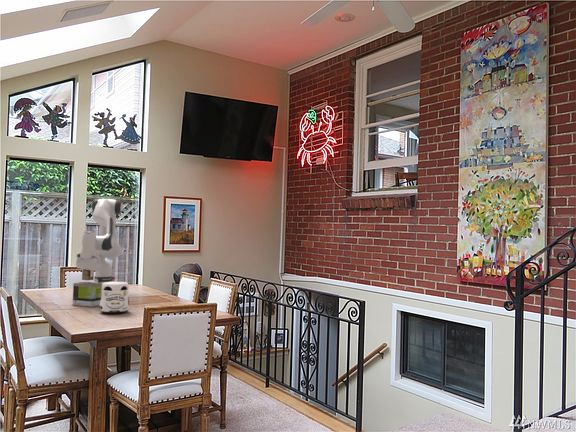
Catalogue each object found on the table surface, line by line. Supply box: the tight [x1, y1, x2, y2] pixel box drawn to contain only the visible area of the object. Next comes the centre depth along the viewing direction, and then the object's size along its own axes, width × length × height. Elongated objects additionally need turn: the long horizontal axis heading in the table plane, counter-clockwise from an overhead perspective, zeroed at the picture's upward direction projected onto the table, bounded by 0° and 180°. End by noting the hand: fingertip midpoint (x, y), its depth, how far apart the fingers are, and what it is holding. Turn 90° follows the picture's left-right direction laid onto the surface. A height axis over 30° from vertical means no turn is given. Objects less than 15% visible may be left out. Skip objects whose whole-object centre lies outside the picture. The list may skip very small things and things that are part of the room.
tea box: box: [72, 281, 102, 308], centre depth 324 cm, size 15×10×15 cm, turn 71°
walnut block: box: [81, 269, 95, 281], centre depth 324 cm, size 5×5×6 cm
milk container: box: [99, 281, 130, 315], centre depth 302 cm, size 17×17×18 cm
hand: (87, 276), depth 324 cm, fingers closed on walnut block, 5 cm apart
